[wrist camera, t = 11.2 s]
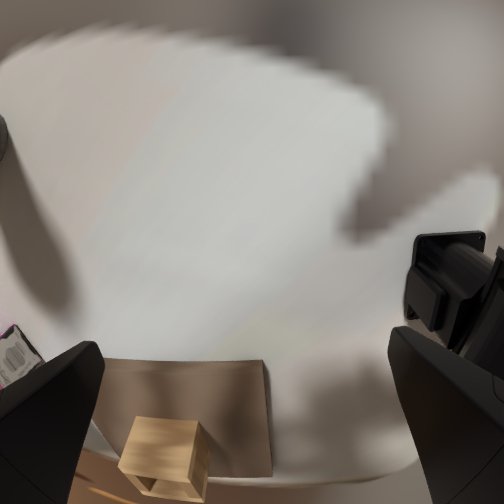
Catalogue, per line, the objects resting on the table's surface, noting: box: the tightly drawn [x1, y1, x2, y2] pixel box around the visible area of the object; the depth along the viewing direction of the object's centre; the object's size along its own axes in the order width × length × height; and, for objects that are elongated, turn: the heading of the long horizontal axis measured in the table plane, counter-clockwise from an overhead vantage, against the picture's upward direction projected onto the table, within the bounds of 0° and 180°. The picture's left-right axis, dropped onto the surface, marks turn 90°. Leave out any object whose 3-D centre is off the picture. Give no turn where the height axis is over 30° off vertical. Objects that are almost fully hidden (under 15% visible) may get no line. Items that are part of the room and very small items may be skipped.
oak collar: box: [118, 416, 211, 503], centre depth 22 cm, size 6×6×6 cm
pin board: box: [92, 358, 273, 478], centre depth 23 cm, size 18×18×6 cm
